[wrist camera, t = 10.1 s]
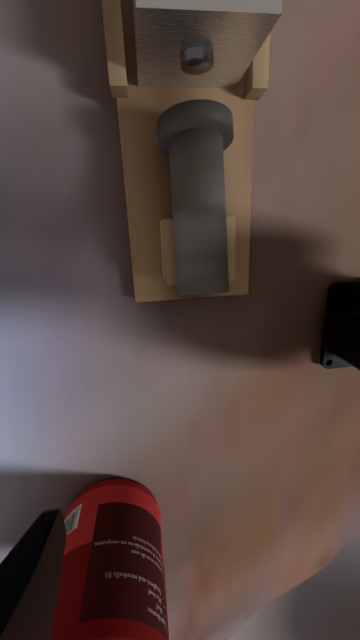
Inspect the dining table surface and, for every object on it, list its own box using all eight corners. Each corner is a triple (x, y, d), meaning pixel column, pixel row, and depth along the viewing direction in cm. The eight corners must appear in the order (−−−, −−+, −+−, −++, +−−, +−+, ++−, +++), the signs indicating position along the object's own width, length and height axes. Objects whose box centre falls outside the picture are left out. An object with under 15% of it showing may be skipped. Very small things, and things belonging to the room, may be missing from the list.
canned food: (74, 554, 23) (20, 808, 13) (57, 482, 21) (-25, 722, 11) (163, 539, 24) (178, 765, 14) (156, 468, 22) (170, 678, 12)
